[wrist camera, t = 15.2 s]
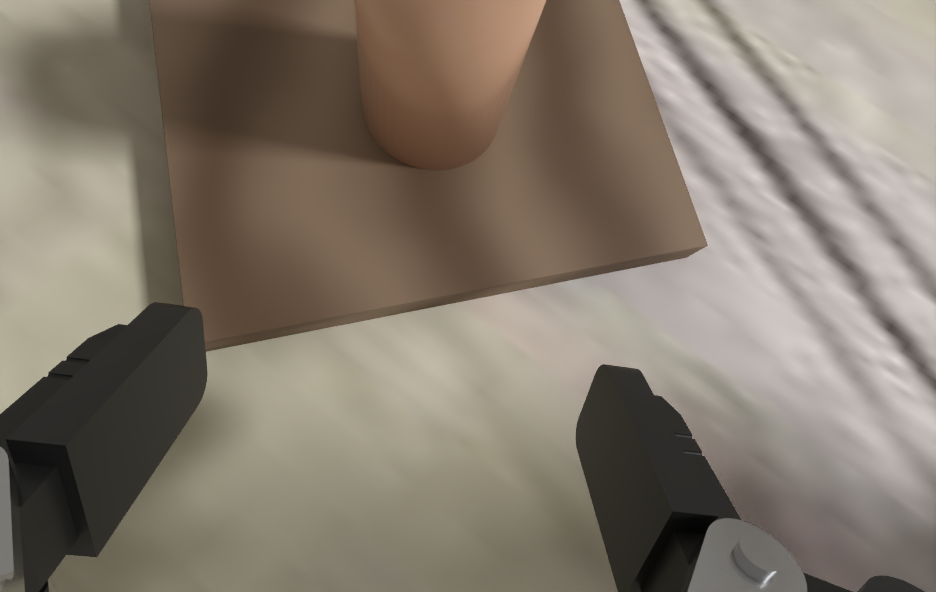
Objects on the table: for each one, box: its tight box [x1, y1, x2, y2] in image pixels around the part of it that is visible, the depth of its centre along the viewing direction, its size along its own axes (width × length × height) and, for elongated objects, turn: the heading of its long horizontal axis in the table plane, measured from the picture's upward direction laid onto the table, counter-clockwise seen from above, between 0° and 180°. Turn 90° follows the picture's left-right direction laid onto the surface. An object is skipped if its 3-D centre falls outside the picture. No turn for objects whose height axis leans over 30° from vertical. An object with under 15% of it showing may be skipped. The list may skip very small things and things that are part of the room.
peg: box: [354, 0, 546, 170], centre depth 15 cm, size 6×6×10 cm
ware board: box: [149, 0, 707, 351], centre depth 21 cm, size 20×16×2 cm
